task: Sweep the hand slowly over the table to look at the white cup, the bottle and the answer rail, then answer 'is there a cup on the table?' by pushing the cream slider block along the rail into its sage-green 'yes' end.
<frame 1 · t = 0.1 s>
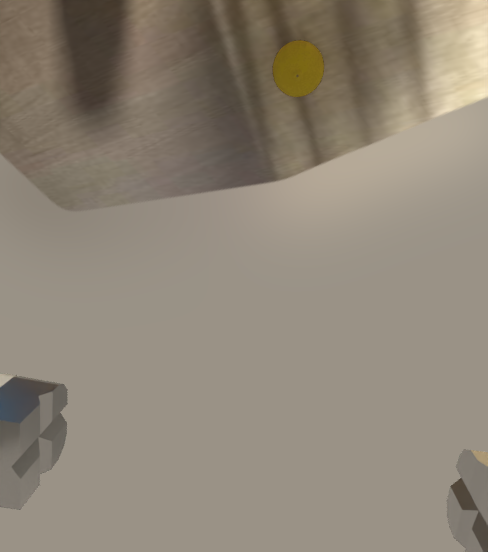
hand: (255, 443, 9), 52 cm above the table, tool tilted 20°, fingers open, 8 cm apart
lemon: (299, 63, 53), on the table
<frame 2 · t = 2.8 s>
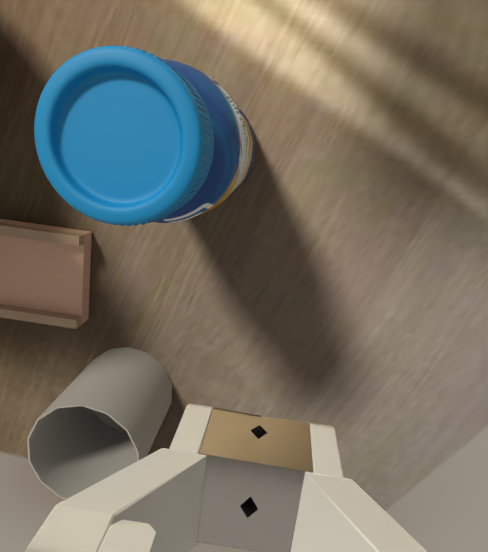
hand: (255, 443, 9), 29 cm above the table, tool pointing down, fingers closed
beverage bottle: (205, 148, 37), on the table
cup: (129, 387, 43), on the table
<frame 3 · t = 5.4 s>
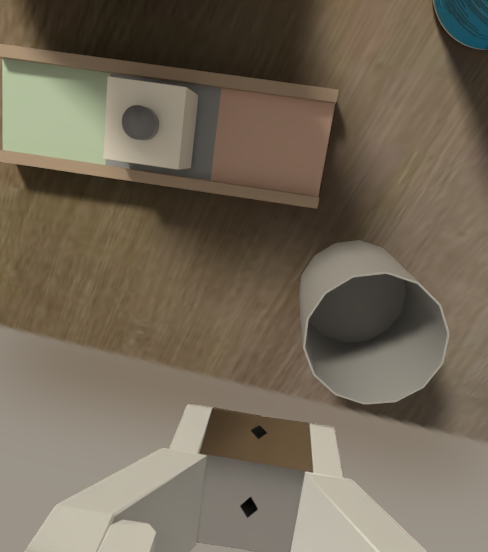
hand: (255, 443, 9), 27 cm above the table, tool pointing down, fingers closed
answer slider: (150, 125, 30), point 4 cm above the table, slide at 0.0 cm
cup: (351, 291, 37), on the table
answer rail: (166, 129, 34), on the table
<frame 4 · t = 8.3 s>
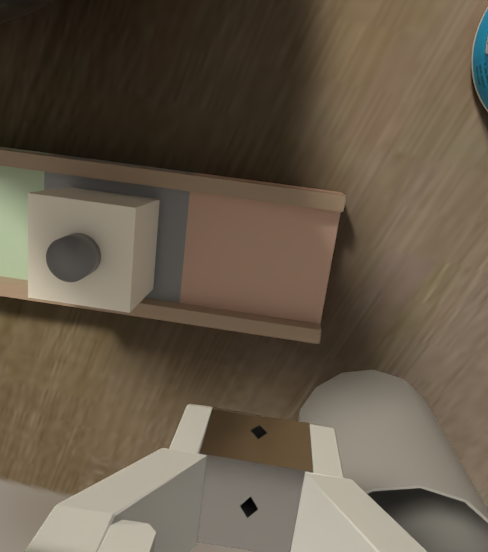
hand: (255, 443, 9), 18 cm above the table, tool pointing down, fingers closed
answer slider: (92, 248, 22), point 4 cm above the table, slide at 0.0 cm
cup: (363, 428, 29), on the table
answer rail: (123, 233, 27), on the table
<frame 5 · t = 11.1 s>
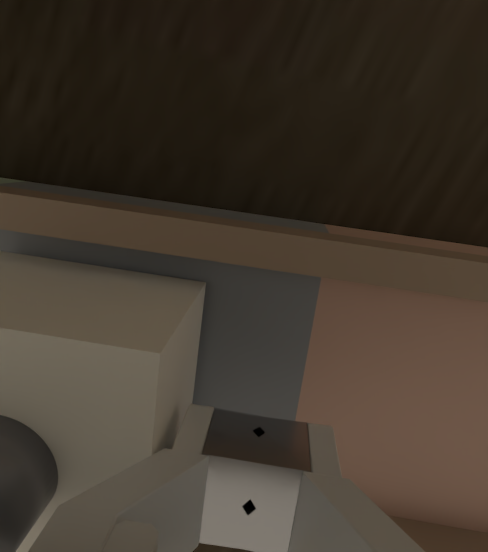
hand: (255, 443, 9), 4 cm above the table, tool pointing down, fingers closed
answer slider: (43, 420, 9), point 4 cm above the table, slide at 1.1 cm, touching gripper
answer rail: (160, 341, 13), on the table
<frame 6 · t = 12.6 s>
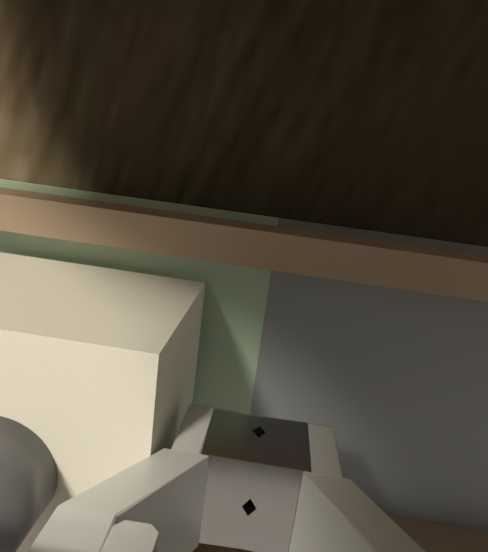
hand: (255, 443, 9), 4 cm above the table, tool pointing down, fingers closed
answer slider: (43, 421, 9), point 4 cm above the table, slide at 8.0 cm, touching gripper
answer rail: (400, 380, 13), on the table
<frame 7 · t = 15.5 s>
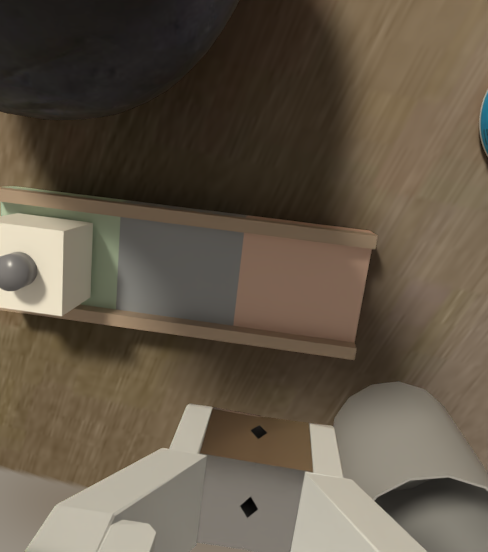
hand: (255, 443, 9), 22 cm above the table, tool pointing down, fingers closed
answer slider: (33, 263, 27), point 4 cm above the table, slide at 8.2 cm
cup: (390, 433, 33), on the table
answer rail: (182, 266, 31), on the table
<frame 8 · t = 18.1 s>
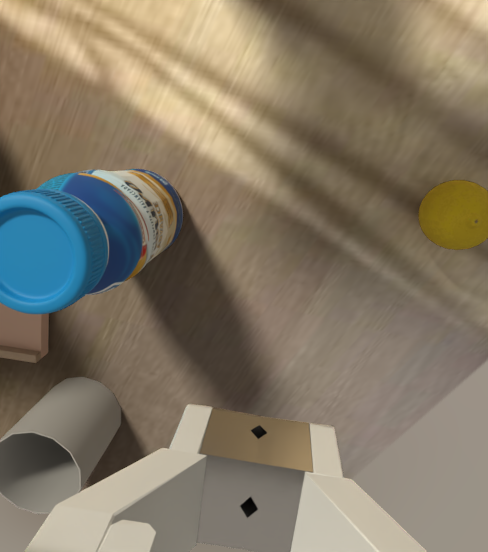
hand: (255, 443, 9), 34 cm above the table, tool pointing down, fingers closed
beverage bottle: (142, 212, 43), on the table
cup: (84, 411, 50), on the table
lemon: (439, 209, 41), on the table
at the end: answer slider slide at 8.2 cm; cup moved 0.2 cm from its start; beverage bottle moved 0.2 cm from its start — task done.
